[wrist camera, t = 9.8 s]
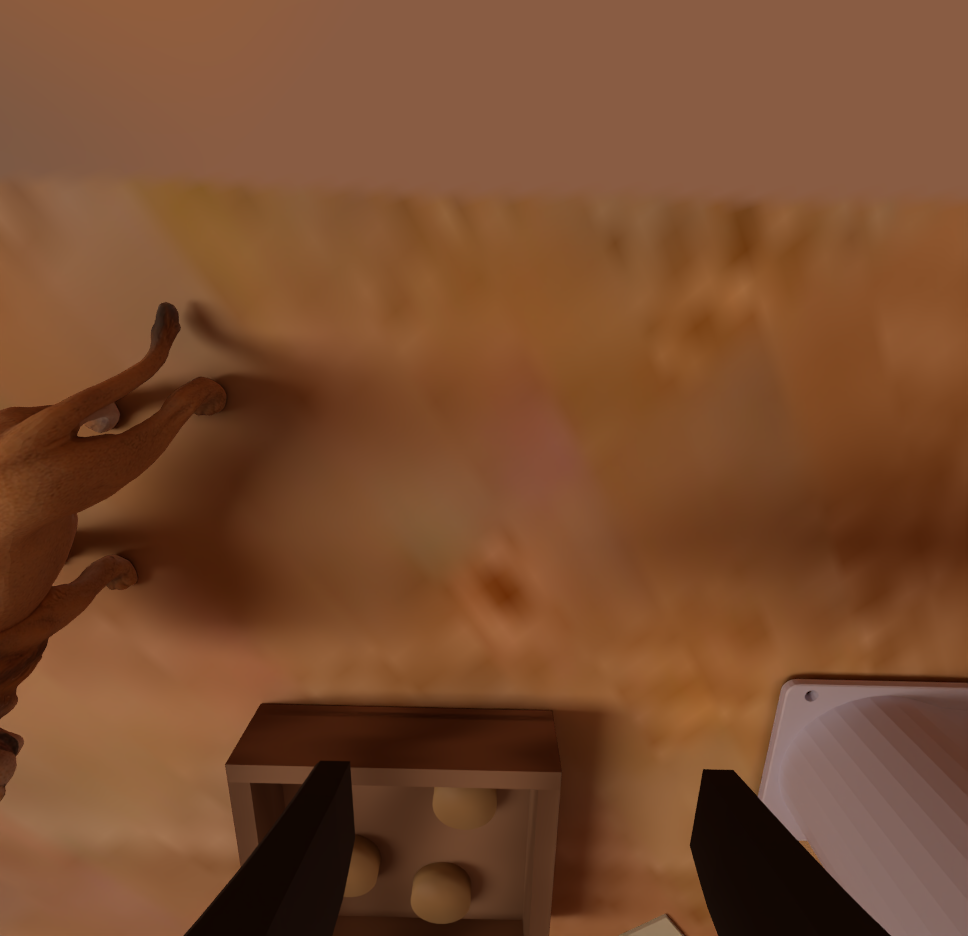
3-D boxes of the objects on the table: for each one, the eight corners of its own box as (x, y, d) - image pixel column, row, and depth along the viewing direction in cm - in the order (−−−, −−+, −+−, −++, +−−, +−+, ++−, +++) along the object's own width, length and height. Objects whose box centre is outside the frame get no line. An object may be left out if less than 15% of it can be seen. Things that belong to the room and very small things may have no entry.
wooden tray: (552, 710, 21) (561, 772, 18) (537, 918, 25) (544, 998, 22) (260, 703, 21) (225, 764, 18) (286, 912, 25) (259, 991, 22)
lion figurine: (142, 674, 21) (-99, 924, 12) (10, 625, 20) (-340, 852, 12) (253, 337, 17) (17, 359, 9) (95, 264, 17) (-331, 210, 8)
